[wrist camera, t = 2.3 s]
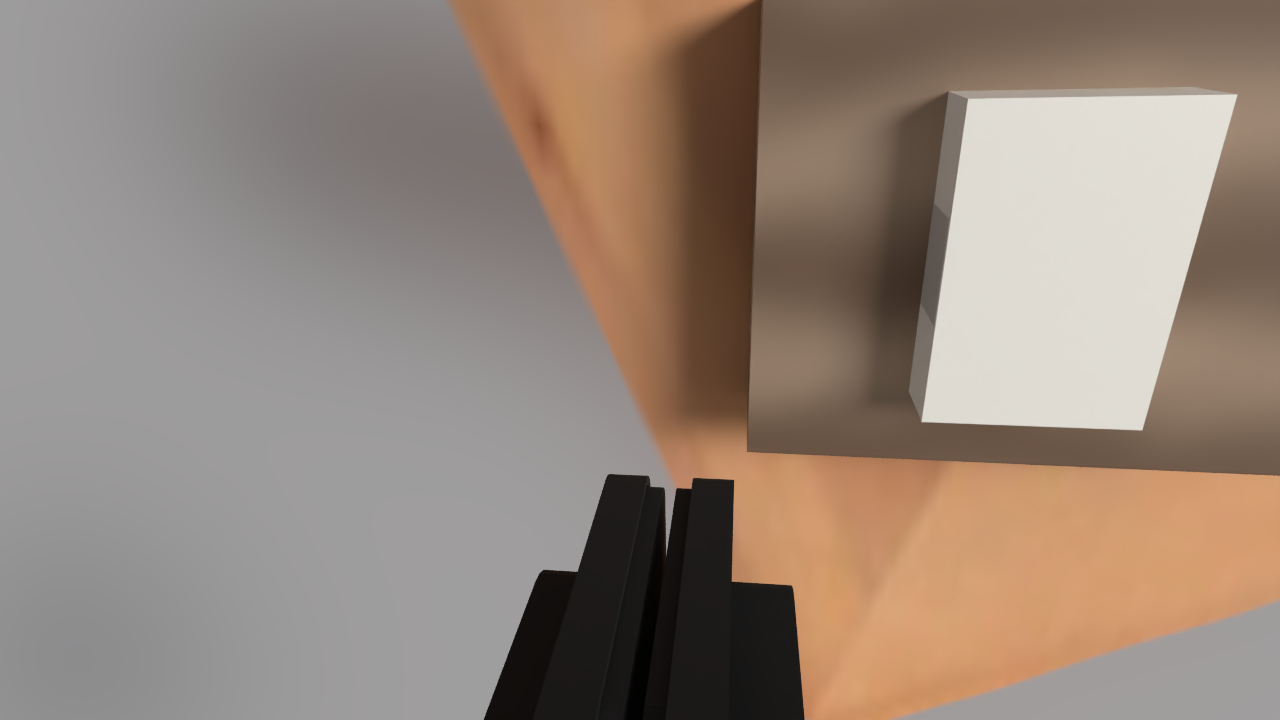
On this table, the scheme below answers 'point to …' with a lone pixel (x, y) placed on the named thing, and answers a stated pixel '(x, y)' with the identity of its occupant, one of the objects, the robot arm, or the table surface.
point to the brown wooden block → (903, 205)
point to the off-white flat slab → (1061, 251)
